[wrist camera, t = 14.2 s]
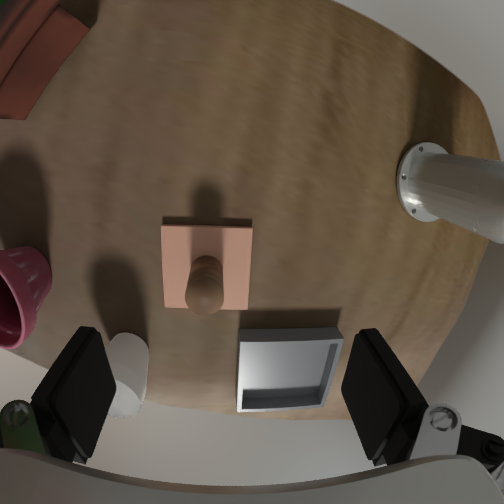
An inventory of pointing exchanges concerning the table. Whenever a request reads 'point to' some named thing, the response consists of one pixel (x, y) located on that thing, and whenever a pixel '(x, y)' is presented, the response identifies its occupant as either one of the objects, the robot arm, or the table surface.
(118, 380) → the cup
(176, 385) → the table surface
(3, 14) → the potted plant
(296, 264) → the table surface
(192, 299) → the walnut peg
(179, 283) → the terracotta board
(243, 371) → the bin
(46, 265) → the plant pot
